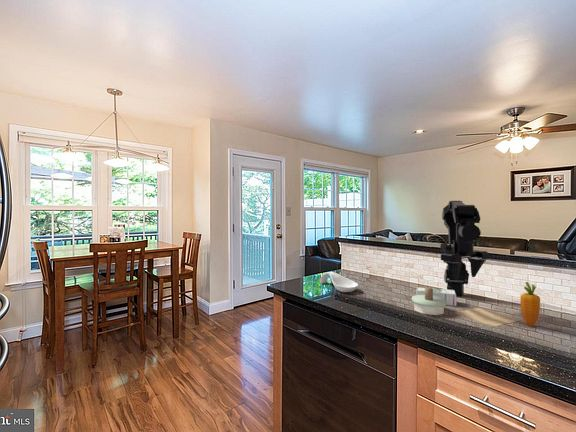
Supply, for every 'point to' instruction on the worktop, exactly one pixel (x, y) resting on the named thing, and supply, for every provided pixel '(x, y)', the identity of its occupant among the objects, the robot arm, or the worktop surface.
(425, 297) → the lid
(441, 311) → the bowl
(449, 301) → the syrup box
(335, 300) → the worktop surface
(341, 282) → the spoon rest
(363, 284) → the worktop surface
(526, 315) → the carrot
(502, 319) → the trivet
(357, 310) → the worktop surface
